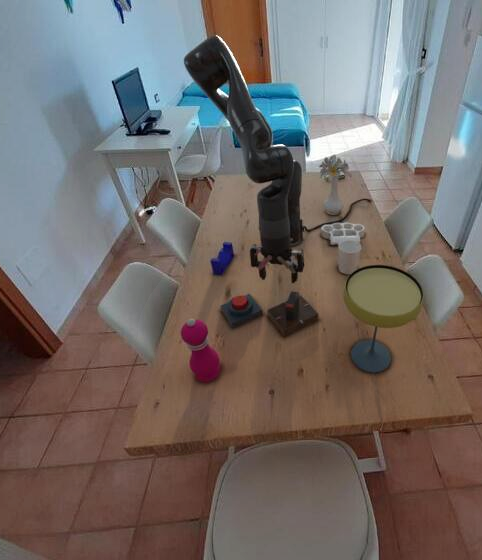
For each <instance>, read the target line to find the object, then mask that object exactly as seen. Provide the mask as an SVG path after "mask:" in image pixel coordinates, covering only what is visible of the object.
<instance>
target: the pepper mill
mask: <svg viewBox="0 0 482 560" xmlns="http://www.w3.org/2000/svg"><path fill="white" fill-rule="evenodd" d="M208 335H209V328H208V326H207V324H206V323H205V322H204V321H203V320H201V319H194V318H192V317H191V318H189V319H187V321H186V322H185V323H184V324H183V325H182V327H181V329H180V337H181V340H182V342H184V343H185V344H186V346H187V349H189V350H190V351H191V355H190V358H189V368H190V370H191V371H192V373H193V374H194V376H195V378H196V379H197V380H198V381H199V382H201V383H209V382H212V381H214V380H216V379H217V378H218V377H219V375H220V373H221V367H220V361H221V359H220V356H219V353H218V352H217V350H215V349H214V348H213V347H211V346H210V345H209V341H210V340H209V336H208Z"/></svg>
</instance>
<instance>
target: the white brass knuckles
mask: <svg viewBox="0 0 482 560" xmlns="http://www.w3.org/2000/svg"><path fill="white" fill-rule="evenodd" d="M365 229H366V228H365V226H364V225H363V224H361V223H352V222H337V223H333V224H327V225H323V226H321V229H320V230H321V231H320V234H321V237H322V238H324V239H326V240H329V243H330V245H331V246H333V245H334V246H335V245H337V246H338V245H339V243H340V242H342V241H345V240H353V241H356V242H358V243H359V244H360V245H361V238H363V237H364V236H365Z"/></svg>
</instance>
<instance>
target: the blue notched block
mask: <svg viewBox="0 0 482 560" xmlns="http://www.w3.org/2000/svg"><path fill="white" fill-rule="evenodd" d="M234 257H235V252H234V246H233V242H230V241H224V242H223V243H222V247H221V248H220V250H219V251H218V255H217V257H216V258H215V257H211V258H210V265H211V269H212V273H213V275H219V276H222V275H223V274H224V272H225V270H226V269H227V267H228V266H229V264H230V263H231V262H232V260H233V259H234Z"/></svg>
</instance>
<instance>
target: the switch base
mask: <svg viewBox="0 0 482 560" xmlns="http://www.w3.org/2000/svg"><path fill="white" fill-rule="evenodd" d="M287 301H288V300H286V301H285V300H282V303H279V304H277V305H274V306H273V307H270V308H268V309H267V310H266V311H267V317H268V318H269V320H270V321H271V322H272V323H273V325H274V326H275V328H277V330H278V331H279V332H280V334H281V335H282V336H283V337H284V338H286V337H288V336H290V335H292V334H294V333H296V332H298V331H299V330H302V329H304V328H306V327H307V326H310V325H312V324H313V323H316V322H318V321H319V313H318V312H317V310H316V309H314V307H313V306H311V304H310V303H309V302H308V301H307V299H305V298H304V297H303V295H301V294H299V306H298V309H297V312H296V315H295V318H294V320H288V319H286V313H285V306H286V303H287Z"/></svg>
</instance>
